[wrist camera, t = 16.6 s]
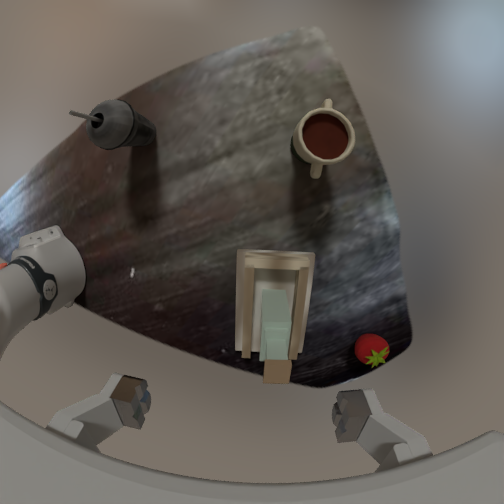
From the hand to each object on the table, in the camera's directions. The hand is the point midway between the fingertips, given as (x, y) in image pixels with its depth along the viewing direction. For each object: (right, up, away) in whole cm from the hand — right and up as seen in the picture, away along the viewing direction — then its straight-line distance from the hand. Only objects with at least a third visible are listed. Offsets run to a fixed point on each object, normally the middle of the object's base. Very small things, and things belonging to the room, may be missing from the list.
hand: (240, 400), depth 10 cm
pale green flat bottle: (+4, -4, +38) cm, 38 cm away
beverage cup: (-18, +27, +32) cm, 45 cm away
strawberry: (+23, -11, +41) cm, 49 cm away
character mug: (+10, +23, +32) cm, 41 cm away
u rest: (+4, -3, +39) cm, 40 cm away
